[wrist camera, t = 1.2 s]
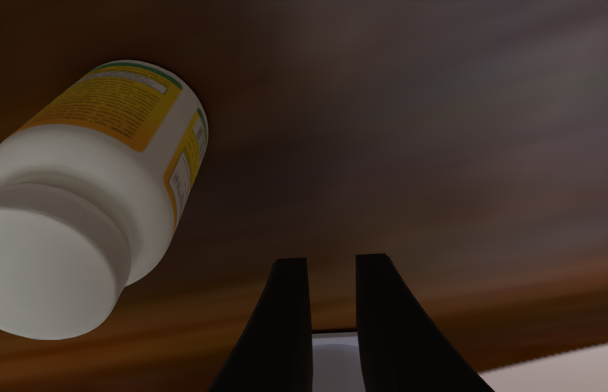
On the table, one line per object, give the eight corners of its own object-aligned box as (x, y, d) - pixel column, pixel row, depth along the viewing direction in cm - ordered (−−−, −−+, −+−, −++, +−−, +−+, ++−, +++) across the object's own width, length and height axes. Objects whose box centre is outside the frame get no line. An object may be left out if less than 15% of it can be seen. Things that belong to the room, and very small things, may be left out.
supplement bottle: (236, 143, 20) (193, 312, 12) (135, 201, 22) (35, 387, 14) (150, 27, 18) (24, 139, 10) (42, 100, 19) (-147, 252, 11)
